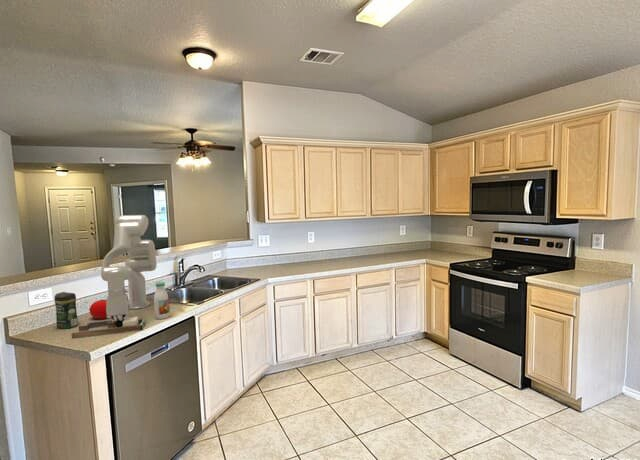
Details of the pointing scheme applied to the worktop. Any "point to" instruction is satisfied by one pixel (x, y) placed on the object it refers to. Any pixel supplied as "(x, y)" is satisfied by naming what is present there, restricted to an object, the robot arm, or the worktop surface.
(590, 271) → the worktop surface
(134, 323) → the block
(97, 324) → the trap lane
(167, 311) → the milk bottle
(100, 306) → the tomato
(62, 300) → the coffee jar
